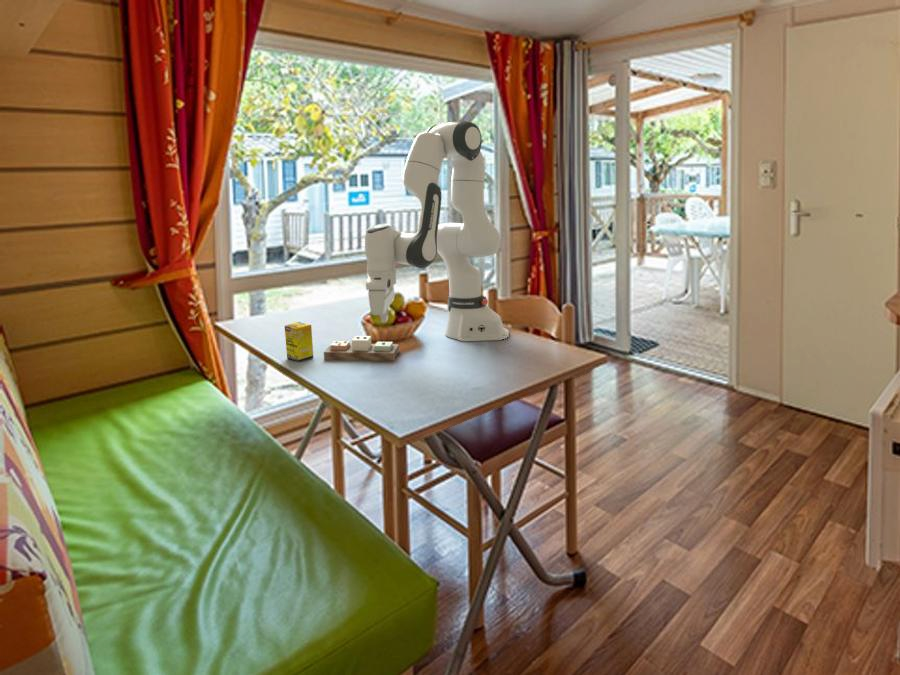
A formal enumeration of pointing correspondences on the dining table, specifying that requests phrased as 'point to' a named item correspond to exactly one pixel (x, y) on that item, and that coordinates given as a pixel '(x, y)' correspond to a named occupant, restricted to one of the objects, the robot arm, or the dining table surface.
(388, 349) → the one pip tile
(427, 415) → the dining table surface
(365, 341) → the two pip tile
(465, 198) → the robot arm
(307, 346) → the supplement box
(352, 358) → the button board
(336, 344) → the three pip tile
